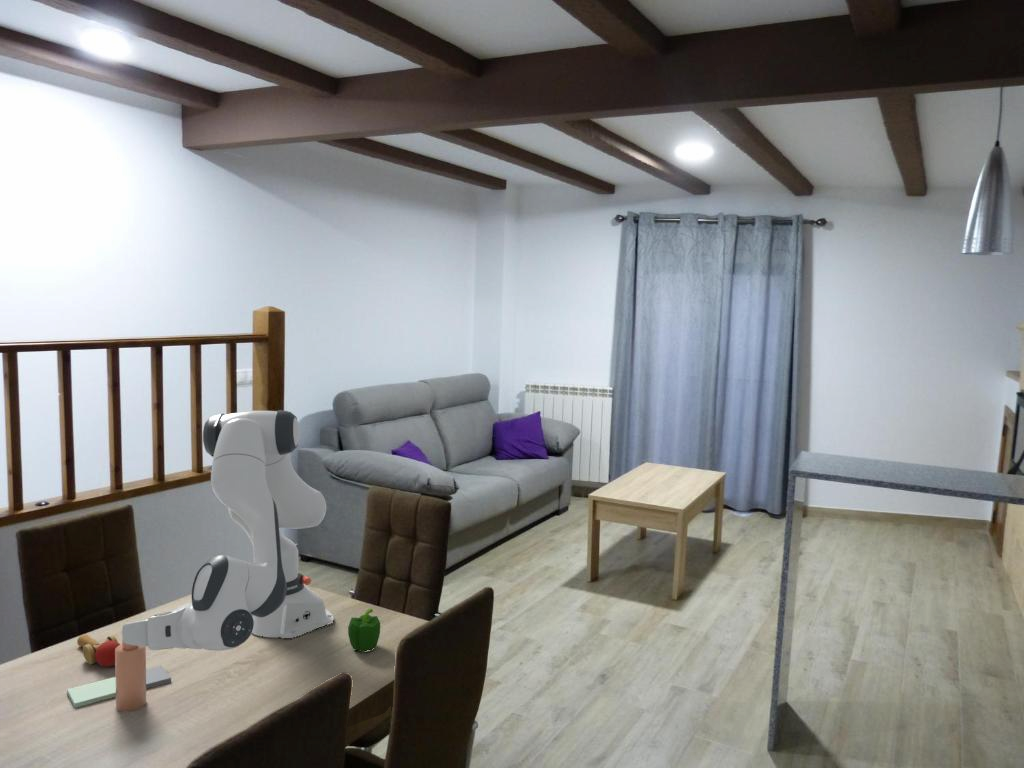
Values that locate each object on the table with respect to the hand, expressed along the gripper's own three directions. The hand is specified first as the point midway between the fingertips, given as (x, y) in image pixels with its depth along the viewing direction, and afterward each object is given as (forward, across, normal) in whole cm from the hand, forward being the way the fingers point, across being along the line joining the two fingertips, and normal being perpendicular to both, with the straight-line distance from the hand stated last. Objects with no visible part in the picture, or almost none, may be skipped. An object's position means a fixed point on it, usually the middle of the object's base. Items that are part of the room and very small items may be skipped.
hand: (156, 623), depth 170 cm
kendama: (+38, -6, +10) cm, 40 cm away
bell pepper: (-6, -53, +16) cm, 55 cm away
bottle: (+12, 0, +18) cm, 21 cm away
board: (+20, -2, +15) cm, 25 cm away
